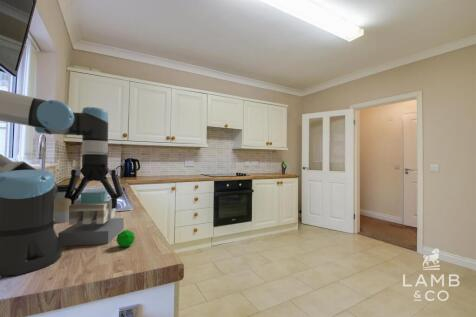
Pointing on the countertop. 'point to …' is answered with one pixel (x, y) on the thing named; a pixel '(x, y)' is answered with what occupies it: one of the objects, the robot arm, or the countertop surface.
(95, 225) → the dock
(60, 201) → the coffee cup
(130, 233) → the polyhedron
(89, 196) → the teal block
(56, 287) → the countertop surface
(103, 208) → the pallet
